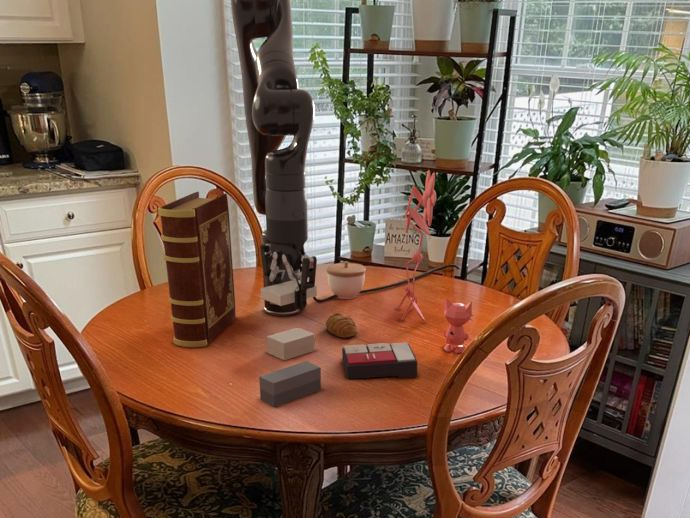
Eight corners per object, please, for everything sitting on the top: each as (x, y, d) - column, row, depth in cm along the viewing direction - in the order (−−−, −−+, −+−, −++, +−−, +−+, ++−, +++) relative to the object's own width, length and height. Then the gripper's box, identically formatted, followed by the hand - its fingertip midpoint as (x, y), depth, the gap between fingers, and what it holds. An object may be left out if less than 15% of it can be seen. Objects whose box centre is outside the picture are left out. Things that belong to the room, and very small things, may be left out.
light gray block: (297, 343, 167) (297, 327, 165) (314, 350, 163) (314, 334, 161) (267, 353, 161) (266, 336, 159) (284, 360, 158) (283, 343, 156)
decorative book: (203, 349, 162) (189, 211, 147) (170, 346, 164) (153, 208, 148) (237, 318, 181) (228, 193, 165) (207, 315, 182) (196, 190, 167)
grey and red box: (341, 344, 157) (408, 339, 158) (342, 362, 159) (408, 357, 160) (346, 363, 147) (417, 358, 149) (347, 382, 150) (417, 377, 151)
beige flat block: (296, 289, 142) (296, 279, 141) (316, 296, 138) (316, 286, 137) (260, 298, 136) (260, 288, 135) (280, 306, 133) (280, 295, 132)
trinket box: (320, 298, 197) (320, 264, 192) (336, 288, 206) (336, 255, 201) (355, 303, 194) (356, 269, 189) (370, 293, 202) (371, 259, 197)
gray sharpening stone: (306, 383, 147) (306, 360, 145) (321, 390, 145) (320, 367, 142) (260, 399, 140) (259, 376, 137) (274, 407, 137) (273, 383, 135)
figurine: (400, 332, 175) (408, 179, 157) (391, 300, 197) (398, 163, 179) (462, 332, 176) (477, 180, 158) (446, 300, 198) (458, 164, 180)
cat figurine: (471, 347, 167) (477, 297, 161) (465, 357, 162) (470, 305, 155) (442, 343, 169) (446, 293, 163) (435, 353, 164) (439, 301, 157)
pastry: (363, 337, 171) (364, 322, 169) (338, 341, 169) (338, 325, 167) (347, 325, 179) (347, 310, 177) (322, 328, 176) (322, 313, 174)
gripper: (328, 218, 127) (328, 309, 136) (277, 205, 136) (280, 292, 144) (296, 224, 122) (298, 318, 131) (245, 210, 131) (251, 299, 140)
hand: (289, 304), depth 138 cm, fingers closed on beige flat block, 6 cm apart
